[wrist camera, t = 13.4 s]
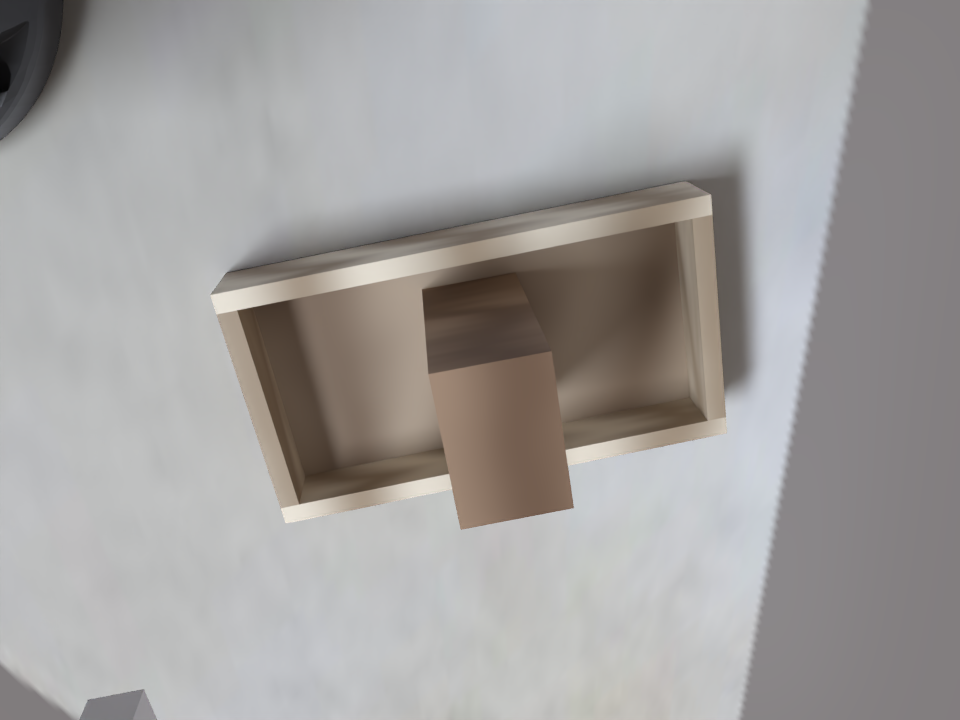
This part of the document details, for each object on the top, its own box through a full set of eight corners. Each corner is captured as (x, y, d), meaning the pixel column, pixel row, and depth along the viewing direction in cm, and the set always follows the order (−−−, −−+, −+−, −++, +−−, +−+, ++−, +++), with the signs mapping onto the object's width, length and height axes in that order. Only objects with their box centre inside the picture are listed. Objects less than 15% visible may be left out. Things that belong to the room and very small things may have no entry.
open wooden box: (294, 487, 37) (285, 523, 35) (226, 273, 33) (210, 295, 31) (703, 403, 38) (726, 433, 35) (685, 180, 34) (711, 194, 31)
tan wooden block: (447, 414, 36) (460, 529, 28) (421, 289, 34) (428, 374, 25) (534, 398, 36) (573, 508, 28) (515, 272, 34) (551, 350, 26)
